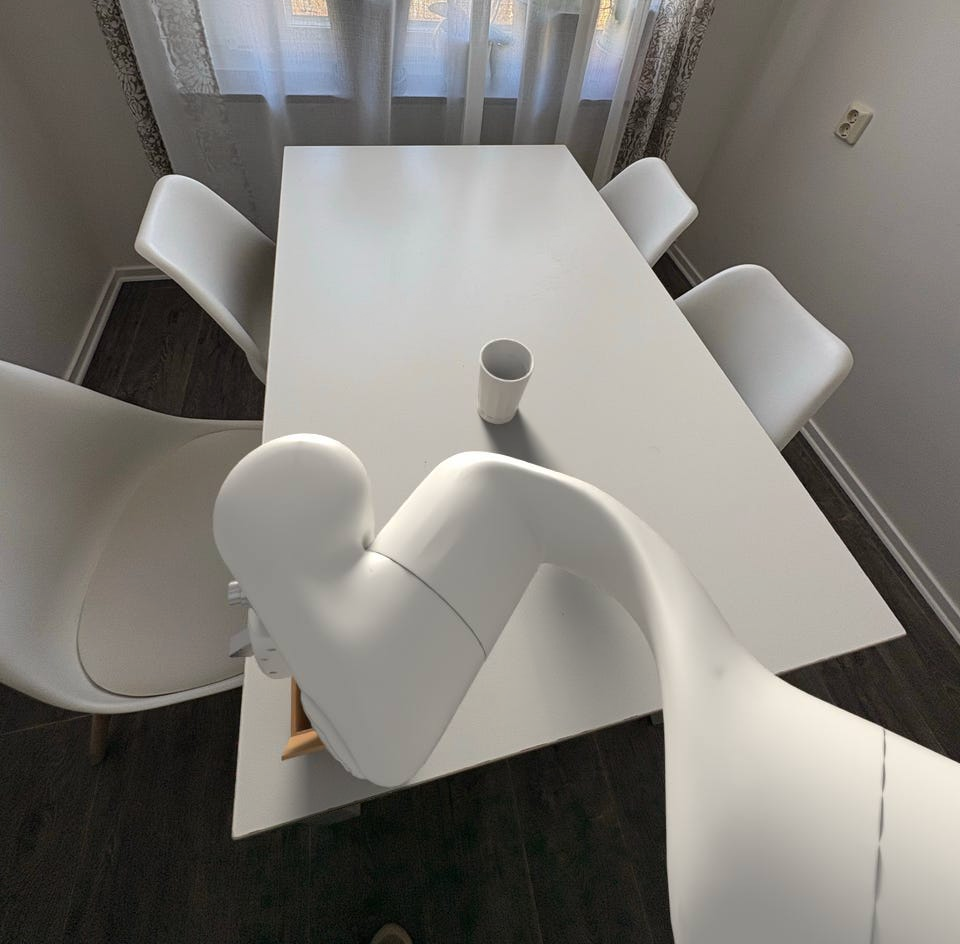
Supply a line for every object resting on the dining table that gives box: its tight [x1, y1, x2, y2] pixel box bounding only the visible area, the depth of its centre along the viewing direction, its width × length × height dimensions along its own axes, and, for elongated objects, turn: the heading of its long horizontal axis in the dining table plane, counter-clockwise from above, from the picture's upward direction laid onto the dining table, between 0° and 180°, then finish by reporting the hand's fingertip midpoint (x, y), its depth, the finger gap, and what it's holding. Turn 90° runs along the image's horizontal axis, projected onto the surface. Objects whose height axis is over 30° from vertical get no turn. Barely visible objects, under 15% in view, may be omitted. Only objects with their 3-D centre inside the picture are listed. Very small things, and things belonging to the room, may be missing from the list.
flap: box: [280, 731, 327, 761], centre depth 44 cm, size 5×10×1 cm
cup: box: [476, 337, 536, 425], centre depth 80 cm, size 8×8×12 cm
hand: (341, 647), depth 46 cm, fingers closed on lemon, 5 cm apart
